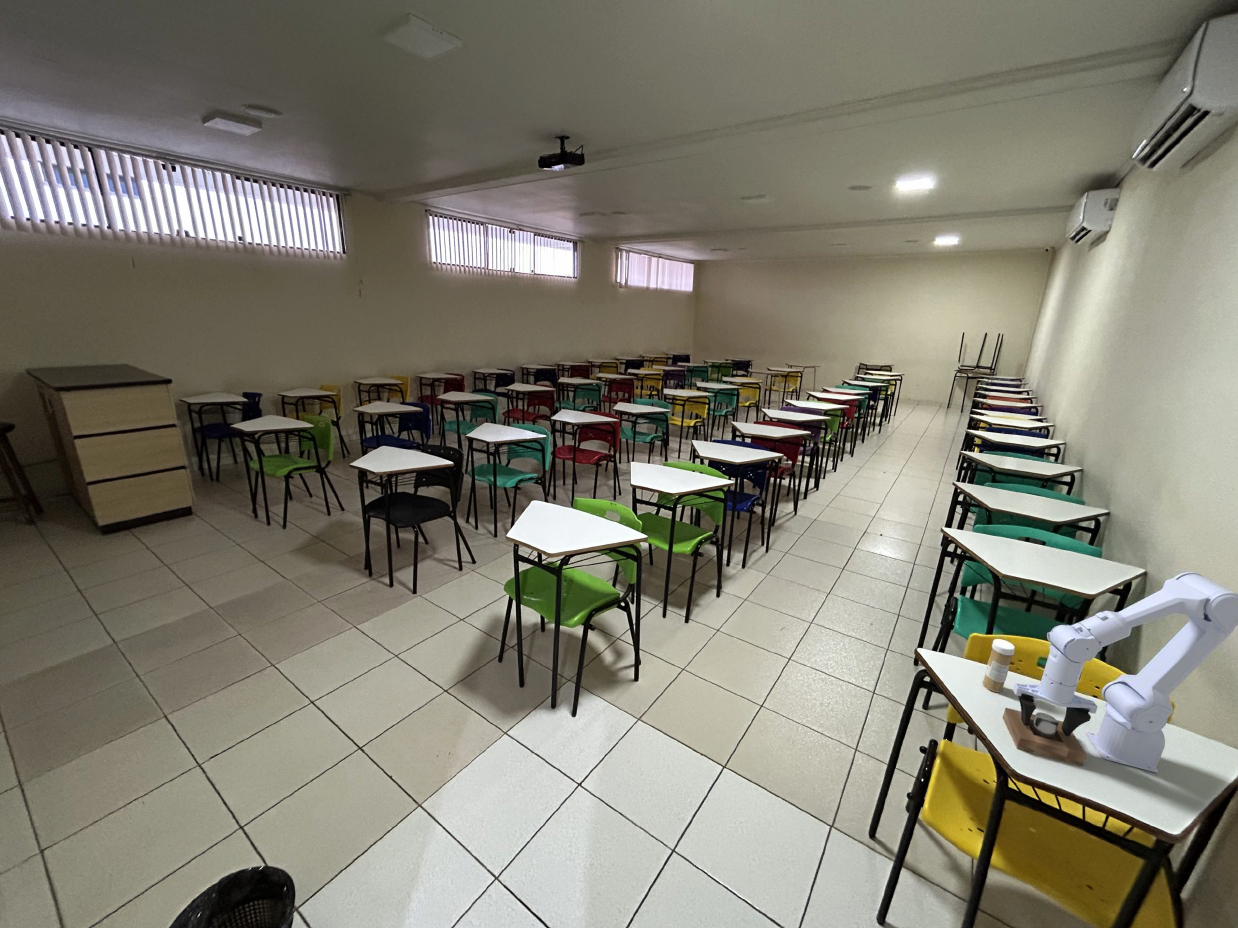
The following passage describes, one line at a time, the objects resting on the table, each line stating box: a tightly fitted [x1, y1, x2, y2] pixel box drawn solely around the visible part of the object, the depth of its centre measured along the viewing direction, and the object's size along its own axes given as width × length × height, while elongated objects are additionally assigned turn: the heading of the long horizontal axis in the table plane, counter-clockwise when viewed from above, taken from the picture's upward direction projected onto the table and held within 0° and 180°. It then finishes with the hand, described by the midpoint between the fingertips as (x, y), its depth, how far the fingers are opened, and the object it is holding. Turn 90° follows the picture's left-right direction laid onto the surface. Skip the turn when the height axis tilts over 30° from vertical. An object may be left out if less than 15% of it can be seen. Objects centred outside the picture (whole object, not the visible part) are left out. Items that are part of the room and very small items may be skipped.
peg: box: [1031, 711, 1059, 740], centre depth 115 cm, size 4×4×6 cm
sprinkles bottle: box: [982, 638, 1016, 693], centre depth 131 cm, size 5×5×14 cm
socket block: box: [1002, 707, 1088, 767], centre depth 115 cm, size 12×10×3 cm
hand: (1044, 727), depth 114 cm, fingers open, 7 cm apart
